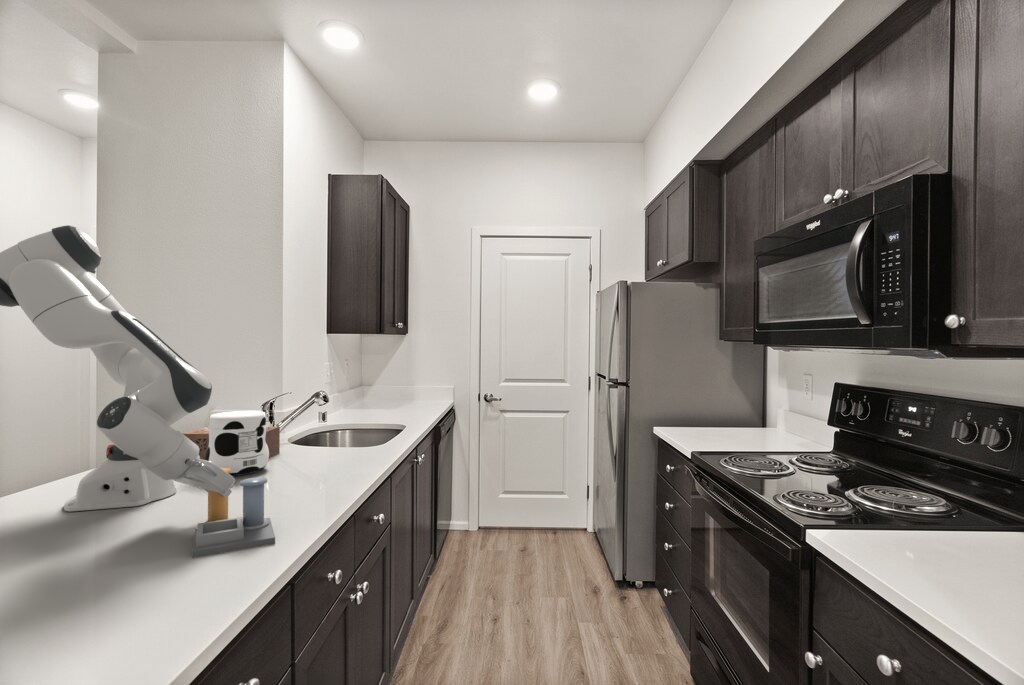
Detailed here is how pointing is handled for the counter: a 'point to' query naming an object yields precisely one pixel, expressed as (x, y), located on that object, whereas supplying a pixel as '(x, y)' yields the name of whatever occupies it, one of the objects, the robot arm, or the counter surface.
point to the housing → (237, 525)
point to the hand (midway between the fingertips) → (220, 492)
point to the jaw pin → (217, 504)
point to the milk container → (238, 441)
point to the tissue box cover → (202, 440)
